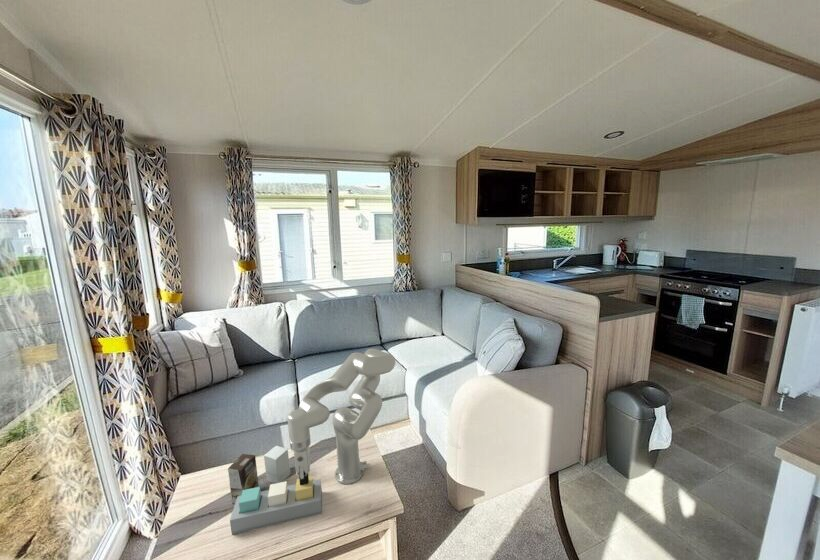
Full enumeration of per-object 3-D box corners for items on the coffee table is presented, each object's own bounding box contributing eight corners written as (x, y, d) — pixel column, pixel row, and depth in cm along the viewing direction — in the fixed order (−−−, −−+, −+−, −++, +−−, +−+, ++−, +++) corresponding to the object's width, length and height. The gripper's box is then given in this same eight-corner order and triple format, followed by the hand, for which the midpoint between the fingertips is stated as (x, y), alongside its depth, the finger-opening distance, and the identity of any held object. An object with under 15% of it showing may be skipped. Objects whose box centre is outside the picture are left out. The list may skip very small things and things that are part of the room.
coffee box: (245, 505, 132) (240, 470, 129) (231, 503, 133) (226, 468, 131) (259, 487, 141) (255, 454, 138) (246, 485, 142) (242, 452, 139)
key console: (321, 491, 138) (320, 478, 137) (321, 513, 127) (320, 500, 126) (239, 509, 130) (237, 496, 129) (231, 534, 120) (229, 520, 119)
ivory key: (288, 496, 132) (286, 481, 131) (286, 509, 126) (285, 493, 125) (272, 499, 130) (270, 484, 129) (269, 512, 125) (267, 497, 123)
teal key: (261, 502, 130) (259, 486, 128) (258, 515, 124) (256, 499, 122) (244, 505, 128) (242, 490, 127) (241, 519, 122) (238, 503, 121)
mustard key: (314, 490, 134) (312, 475, 133) (313, 503, 128) (312, 487, 127) (298, 494, 133) (296, 479, 132) (297, 506, 127) (295, 491, 126)
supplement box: (291, 473, 149) (288, 449, 146) (278, 485, 142) (275, 459, 140) (279, 469, 152) (276, 444, 149) (266, 480, 145) (263, 455, 143)
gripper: (309, 452, 120) (313, 495, 123) (311, 428, 134) (314, 467, 138) (288, 456, 118) (292, 500, 122) (291, 431, 133) (296, 471, 136)
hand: (304, 482), depth 130 cm, fingers closed
